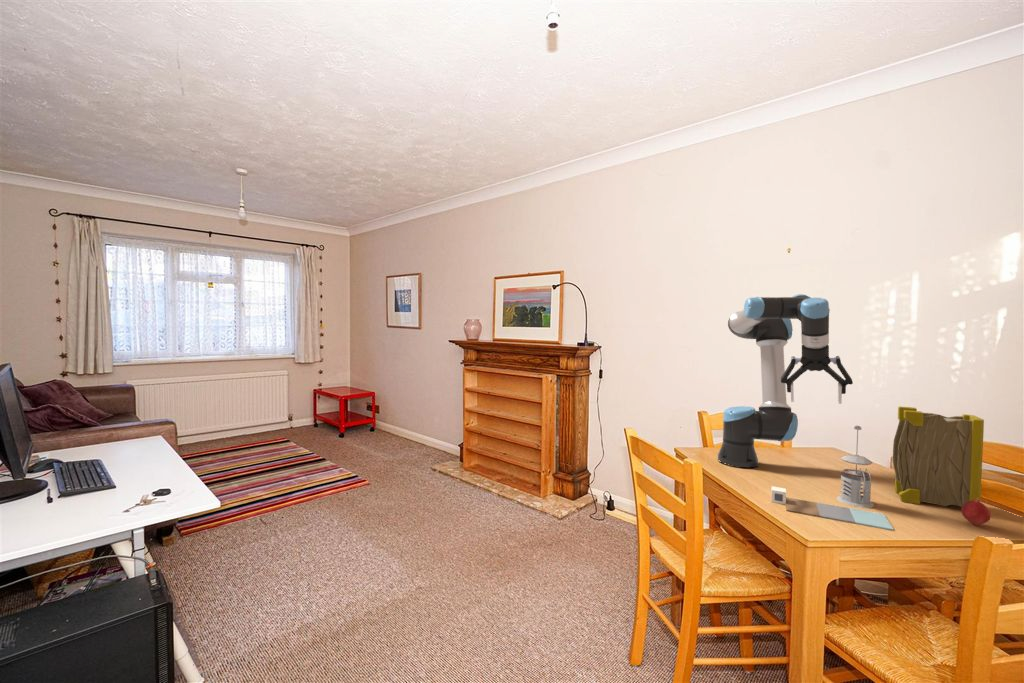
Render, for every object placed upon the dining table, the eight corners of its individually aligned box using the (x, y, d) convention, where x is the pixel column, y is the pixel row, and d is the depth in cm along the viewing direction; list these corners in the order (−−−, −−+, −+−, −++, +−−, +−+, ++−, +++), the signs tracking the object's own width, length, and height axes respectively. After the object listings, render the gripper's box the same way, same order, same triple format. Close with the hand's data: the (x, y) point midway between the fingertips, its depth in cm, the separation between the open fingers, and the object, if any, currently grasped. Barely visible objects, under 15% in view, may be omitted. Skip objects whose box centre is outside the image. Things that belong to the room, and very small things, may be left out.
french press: (863, 497, 150) (866, 423, 149) (884, 511, 138) (888, 431, 137) (830, 495, 152) (833, 421, 151) (848, 508, 140) (851, 429, 139)
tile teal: (855, 523, 129) (855, 522, 129) (848, 509, 139) (848, 508, 139) (893, 530, 125) (893, 529, 125) (883, 515, 135) (883, 513, 135)
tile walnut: (786, 510, 137) (786, 509, 137) (785, 498, 148) (785, 497, 148) (819, 517, 133) (819, 515, 133) (816, 503, 144) (816, 502, 144)
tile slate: (819, 517, 133) (819, 515, 133) (816, 503, 144) (816, 502, 144) (855, 523, 129) (855, 522, 129) (848, 509, 139) (848, 508, 139)
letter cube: (771, 502, 145) (771, 490, 144) (771, 498, 148) (771, 486, 148) (785, 504, 143) (786, 492, 142) (785, 500, 146) (785, 488, 146)
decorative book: (970, 503, 145) (974, 411, 145) (982, 515, 136) (986, 417, 135) (890, 491, 156) (893, 405, 155) (896, 501, 147) (899, 410, 146)
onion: (956, 523, 130) (958, 496, 130) (967, 519, 133) (968, 493, 132) (984, 531, 125) (985, 503, 125) (994, 528, 127) (995, 500, 127)
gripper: (771, 349, 152) (773, 404, 159) (864, 348, 139) (862, 408, 146) (771, 341, 158) (774, 394, 165) (860, 339, 145) (859, 397, 152)
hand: (815, 400), depth 155 cm, fingers open, 13 cm apart
